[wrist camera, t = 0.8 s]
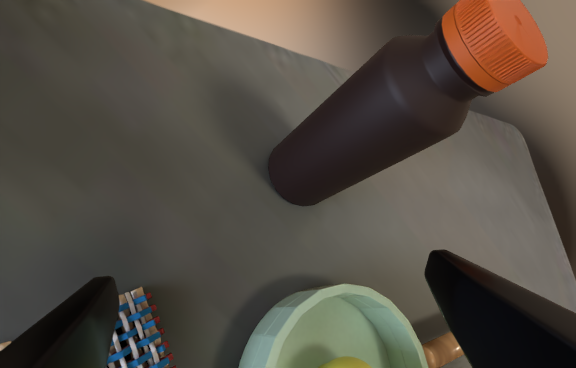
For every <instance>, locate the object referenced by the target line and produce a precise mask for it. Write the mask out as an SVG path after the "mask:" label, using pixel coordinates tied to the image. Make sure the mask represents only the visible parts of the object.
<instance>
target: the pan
mask: <svg viewBox="0 0 576 368" xmlns="http://www.w3.org/2000/svg"><path fill="white" fill-rule="evenodd" d="M343 356H350V357H355V358H358V359H361V360H363V361H364V362H366V363H367V364H369V365H370V366H371V367H372V368H428V364H427V361H426V357H425V354H424V350H423V347H422V345H421V343H420V341H419V339H418V337H417V336H416V334H415V332H414V330H413V328H412V326H411V324H410V322H409V321H408V319H407V318H406V317H405V316H404V315H403V314H402V313H401V311H400V310H399V309H398V308H397V307H396V306H395V305H394V304H393V302H392V301H390V300H389V299H388V298H386V297H384V296H383V295H381V294H379V293H378V292H376V291H374V290H373V289H371V288H369V287H364V286H358V285H352V284H346V283H345V284H336V285H327V286H319V287H315V288H311V289H305V290H302V291H299V292H296V293H293V294H291V295H289V296H287V297H286V298H284V299H283V300H281V301H280V302H278V303H277V304H276V305H275V306H274V307H273V308H271V309H270V310H269V311H268V312H267V313H266V315H265V316H264V317H263V318H262V320H261V321H260V322H259V323H258V325H257V326H256V328H255V330H254V331H253V333H252V334H251V336H250V338H249V341H248V343H247V345H246V347H245V349H244V352H243V355H242V358H241V360H240V363H239V368H318V367H319V366H321V365H322V364H325V363H328V362H330V361H331V360H333V359H335V358H338V357H343Z"/></svg>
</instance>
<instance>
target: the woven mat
mask: <svg viewBox="0 0 576 368" xmlns="http://www.w3.org/2000/svg"><path fill="white" fill-rule="evenodd" d="M131 294H132V297H133V300H132V298H131V296H130V294H129V292H127V293H125V295H126V298H127V301H128V302H127V301H126V298H125V296H124V294H123V295H118V296H119V300H120V306H119V312H118V319H119V320H118V321H116V325H115V330H116V329H118V328H119V327H121V328H122V331H123V333H122V334H120V335H117V334H116V331H115V330H114V334H113V339H112V343H111V347H110V352H109V356H108V360H107V364H108V365H109V368H134V367H135V368H169V365H168V363H170V361H171V360H172V359H174V358H173V356H172V353H169V354H168V355H166V356H165V353H164V351H165V350H166V348H167V347H169V344H168V341H165V342H164V343H162V344H161V338H160V337H161V335H162V334H163V333H165V332H164V329H163V328H161V329H158V330H157V328H156V326H155V325H156V324H157V323H159V322H160V319H159V317H158V316H157V317H155V318H153V319H152V316H151V312H152V311H154V310H156V309H157V308H156V305H155V304H154V305H151V306H149V307H148V304H147V301H146V300H147V299H150V298H152V296H151V293H147V294H145V295H144V292H143V289H142V287H140V288H138V289H135V290H133V291H131ZM135 306H136V309H137V312H136V310H135ZM129 308H130V310H131V315H130V312H129ZM139 318H140V321H141V324H140V322H139ZM132 321H134V323H135V325H136V327H135V328H134V325H133V322H132ZM143 331H144V333H145V335H146V336H145V337H144V334H143ZM137 333H138V334H139V338H140V340H138V337H137ZM123 340H126V343H127V346H126V347H124V348H122V349H121V346H120V343H119V342H121V341H123ZM10 343H11V341H8V342H5V343H1V344H0V351H1V350H2V349H4V348H5V347H6V346H7V345H9V344H10ZM148 344H149V346H150V350H149V349H148V346H147V345H148ZM141 347H143V349H144V352H145V353H143V352H142V349H141ZM129 353H130V355H131V358H132V360H130V361H128V362H126V361H125V358H124V357H125V356H126V355H128V354H129ZM152 357H153V358H154V362H153V360H152ZM146 361H148V364H149V365H148V366H147V364H146ZM107 364H106V365H107ZM106 368H107V367H106ZM171 368H176V365H175V366H173V367H171Z"/></svg>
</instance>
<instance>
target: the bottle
mask: <svg viewBox="0 0 576 368" xmlns="http://www.w3.org/2000/svg"><path fill="white" fill-rule="evenodd" d="M547 59H548V53H547V47H546V44H545V41H544V38H543V36H542V34H541V32H540V30H539V28H538V26H537V24H536V22H535V21H534V19H533V18H532V16H531V14H530V13H529V12H528V10H527V9H526V7H525V6H524V5H523V3H522V2H521V1H520V0H460V1H459V2H458V3H457V4H455V5H454V6H453V7H452V8H451V9H450V10H448V11H447V12H446V13H445V14H444V16H443V17H442V18H441V19H440V20H439V21H438V22H437V23H436V24H435V29H434V31H433V32H432V33H431V34H430V35H429V36H418V35H405V36H398V37H394V38H392V39H391V40H390V41H389V42H388V43H386V44H385V45H384V46H383V47H382V48H381V49H380V50H379V51H378V52H377V53H376V54H375V55H374V56H372V57H371V58H370V59H369V60H368V61H367V62H366V63H365V64H364V65H363V66H362V67H361V68H360V69H359V70H358V71H356V72H355V73H354V74H353V75H352V76H351V77H350V78H349V79H348V80H347V81H346V82H345V83H344V84H342V85H341V86H340V87H339V88H338V89H337V90H336V91H335V92H334V93H333V94H332V95H331V96H330V97H329V98H328V99H326V100H325V101H324V102H323V103H322V104H321V105H320V106H319V107H318V108H317V109H316V110H315V111H314V112H313V113H311V114H310V115H309V116H308V117H307V118H306V119H305V120H304V121H303V122H302V123H301V124H300V125H299V126H298V127H297V128H295V129H294V130H293V131H292V132H291V133H290V134H289V135H288V136H287V137H286V138H285V139H284V140H283V141H282V142H281V143H279V144H278V145H277V146H276V147H275V148H274V149H273V152H272V154H271V156H270V158H269V167H268V169H269V174H270V179H271V181H272V183H273V185H274V187H275V189H276V190H277V191H278V192H279V193H280V194H281V195H282V197H283V198H285V199H286V200H288V201H290V202H291V203H293V204H297V205H301V206H309V205H315V204H317V203H319V202H321V201H323V200H325V199H326V198H328V197H330V196H332V195H334V194H336V193H338V192H340V191H342V190H344V189H346V188H348V187H350V186H352V185H354V184H356V183H358V182H360V181H362V180H364V179H366V178H368V177H370V176H372V175H374V174H376V173H378V172H380V171H382V170H384V169H386V168H388V167H390V166H392V165H394V164H396V163H398V162H400V161H402V160H404V159H406V158H408V157H410V156H412V155H414V154H416V153H418V152H420V151H422V150H424V149H426V148H428V147H430V146H432V145H434V144H436V143H438V142H440V141H441V140H443V139H445V138H447V137H449V136H451V135H453V134H454V133H456V132H458V131H459V130H460V128H461V126H462V124H463V123H464V121H465V119H466V116H467V113H468V110H469V107H470V103H471V100H472V99H473V98H475V97H477V96H479V95H480V96H488V95H490V94H492V93H494V92H498V91H500V90H502V89H503V88H505V87H507V86H509V85H511V84H512V83H515V82H516V81H518V80H520V79H522V78H524V77H525V76H527V75H529V74H531V73H533V72H535V71H536V70H538V69H540V68H542V67H544V66H545V65H546V62H547Z"/></svg>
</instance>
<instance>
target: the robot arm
mask: <svg viewBox="0 0 576 368" xmlns="http://www.w3.org/2000/svg"><path fill="white" fill-rule="evenodd" d="M425 279H426V281H427V283H428V285H429V288H430V290H431V292H432V294H433V296H434V298H435V300H436V302H437V305H438V307H439V309H440V311H441V313H442V315H443V317H444V319H445V321H446V323H447V325H448V327H449V329H450V331H451V332H452V334H453V336H454V337H455V339H456V341H457V343H458V344H459V346H460V348H461V349H462V351H463V353H464V354H465V356H466V358H467V359H468V361H469V363H470V364H471V366H472V368H576V313H574V312H572V311H570V310H568V309H566V308H564V307H562V306H560V305H558V304H556V303H554V302H552V301H550V300H547V299H545V298H543V297H541V296H539V295H537V294H535V293H533V292H531V291H529V290H527V289H525V288H523V287H521V286H519V285H517V284H515V283H513V282H511V281H509V280H507V279H505V278H502V277H500V276H498V275H496V274H494V273H492V272H490V271H488V270H486V269H484V268H482V267H480V266H478V265H476V264H474V263H472V262H470V261H468V260H466V259H464V258H462V257H460V256H457V255H455V254H453V253H451V252H449V251H447V250H433V251H431V253H430V254H429V258H428V261H427V265H426V268H425ZM119 306H120V300H119V296H118V292H117V288H116V284H115V281H114V278H113V277H111V276H103V277H95V278H93V279H92V280H91V281H89V282H88V283H87V284H85V285H84V286H83V287H82V288H80V289H79V290H78V291H76V292H75V293H74V294H73V295H71V296H70V297H69V298H68V299H66V300H65V301H64V302H62V303H61V304H60V305H59V306H57V307H56V308H55V309H53V310H52V311H51V312H50V313H48V314H47V315H46V316H45V317H43V318H42V319H41V320H39V321H38V322H37V323H36V324H34V325H33V326H32V327H30V328H29V329H28V330H27V331H25V332H24V333H23V334H22V335H20V336H19V337H18V338H16V339H15V340H14V341H13V342H11V343H10V344H9V345H7V346H6V347H5V348H4V349H2V350H1V351H0V368H106V364H107V360H108V356H109V352H110V347H111V343H112V339H113V334H114V330H115V325H116V321H117V316H118V312H119Z"/></svg>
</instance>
